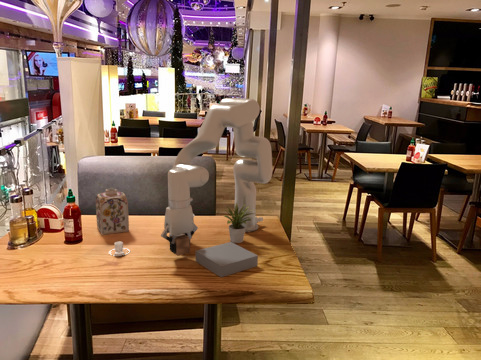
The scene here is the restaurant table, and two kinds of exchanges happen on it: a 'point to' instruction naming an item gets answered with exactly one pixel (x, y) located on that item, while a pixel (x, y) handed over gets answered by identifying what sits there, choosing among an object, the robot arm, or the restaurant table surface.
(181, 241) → the walnut block
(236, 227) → the house plant
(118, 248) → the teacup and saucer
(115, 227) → the decorative jar
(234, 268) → the grey square slab
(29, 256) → the restaurant table surface
